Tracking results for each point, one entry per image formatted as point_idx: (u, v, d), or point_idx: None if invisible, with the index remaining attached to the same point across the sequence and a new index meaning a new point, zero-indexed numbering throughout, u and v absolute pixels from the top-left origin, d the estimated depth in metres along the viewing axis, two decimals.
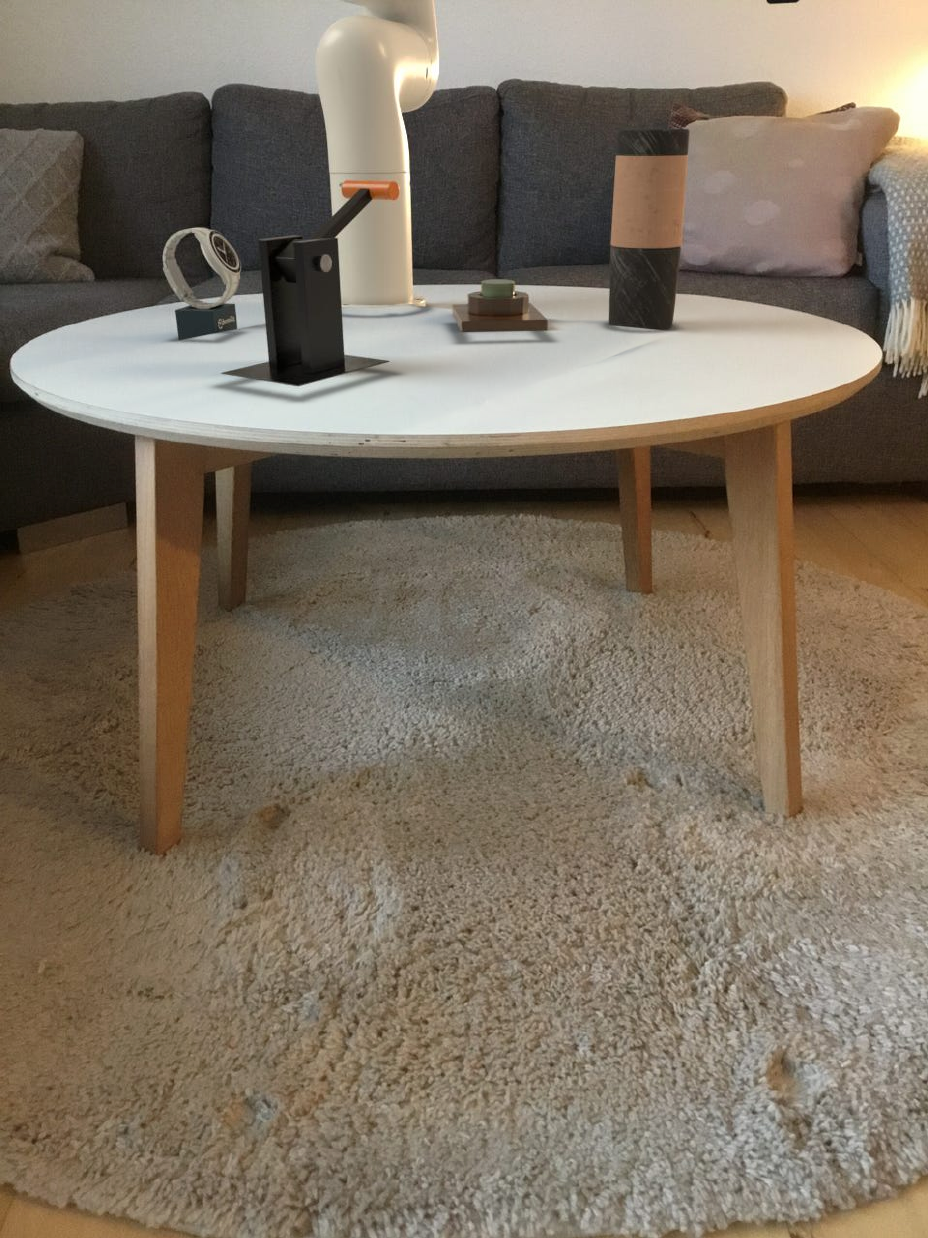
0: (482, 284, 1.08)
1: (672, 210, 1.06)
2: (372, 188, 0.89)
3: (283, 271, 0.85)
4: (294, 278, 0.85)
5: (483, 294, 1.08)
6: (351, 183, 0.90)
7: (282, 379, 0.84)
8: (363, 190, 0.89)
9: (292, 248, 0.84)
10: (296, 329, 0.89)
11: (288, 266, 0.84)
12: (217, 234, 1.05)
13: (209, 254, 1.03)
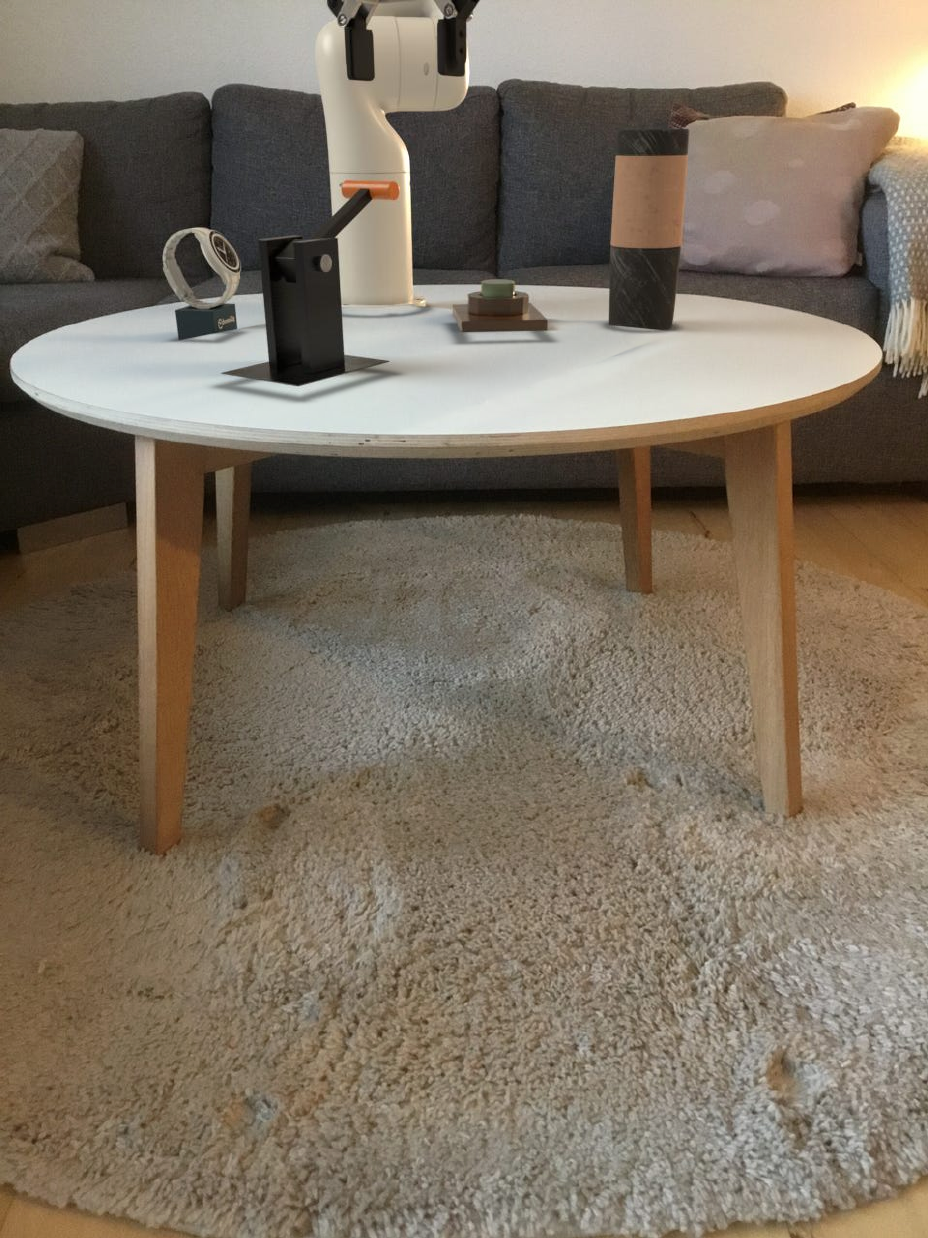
0: (482, 284, 1.08)
1: (671, 210, 1.06)
2: (372, 188, 0.89)
3: (283, 271, 0.85)
4: (294, 278, 0.85)
5: (483, 294, 1.08)
6: (351, 183, 0.90)
7: (282, 379, 0.84)
8: (363, 190, 0.89)
9: (292, 248, 0.84)
10: (296, 329, 0.89)
11: (288, 266, 0.84)
12: (217, 234, 1.05)
13: (209, 254, 1.03)
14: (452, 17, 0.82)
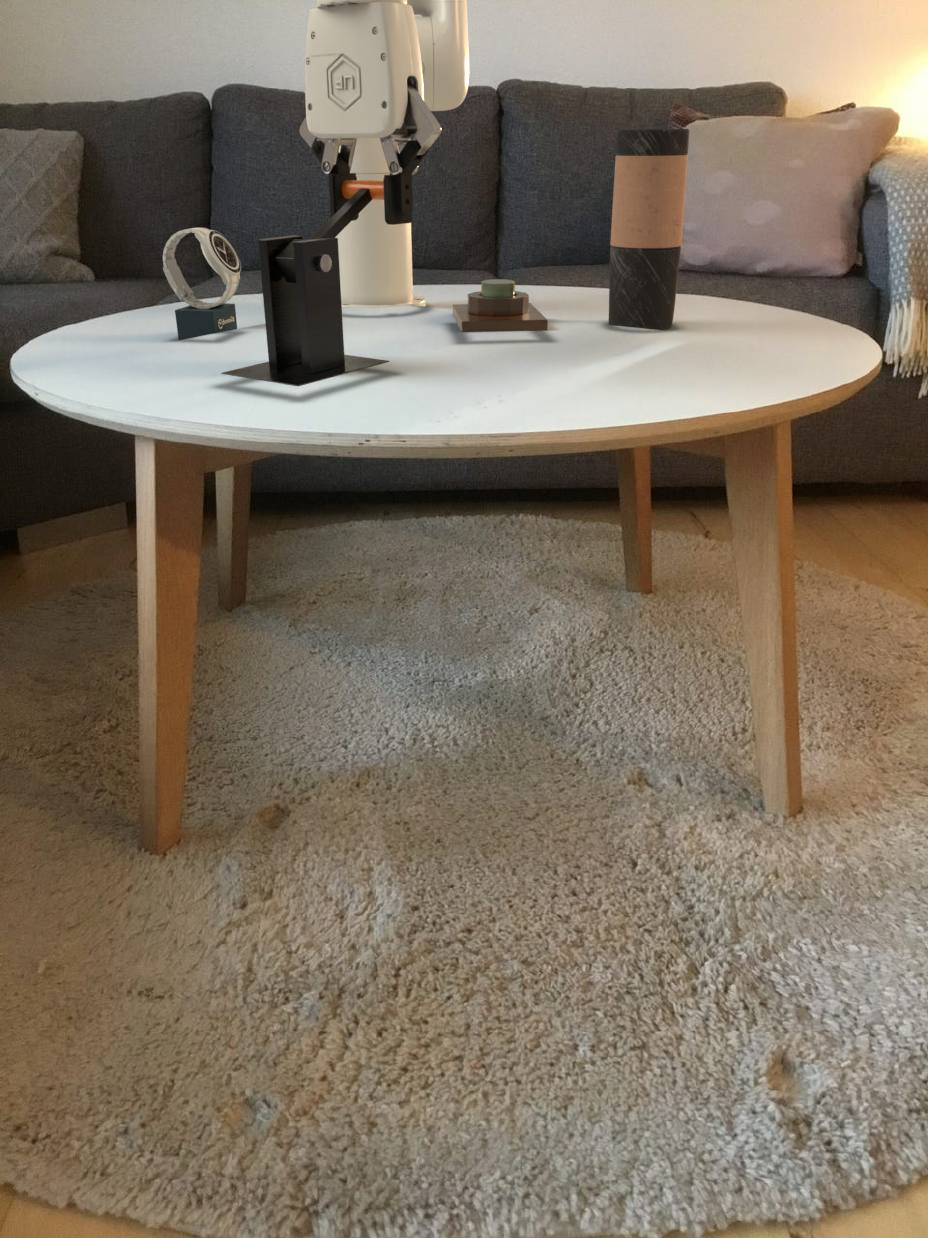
0: (482, 284, 1.08)
1: (671, 210, 1.06)
2: (372, 188, 0.89)
3: (283, 271, 0.85)
4: (294, 278, 0.85)
5: (483, 294, 1.08)
6: (351, 183, 0.90)
7: (282, 379, 0.84)
8: (363, 190, 0.89)
9: (292, 248, 0.84)
10: (296, 329, 0.89)
11: (288, 266, 0.84)
12: (217, 234, 1.05)
13: (209, 254, 1.03)
14: (397, 174, 0.87)
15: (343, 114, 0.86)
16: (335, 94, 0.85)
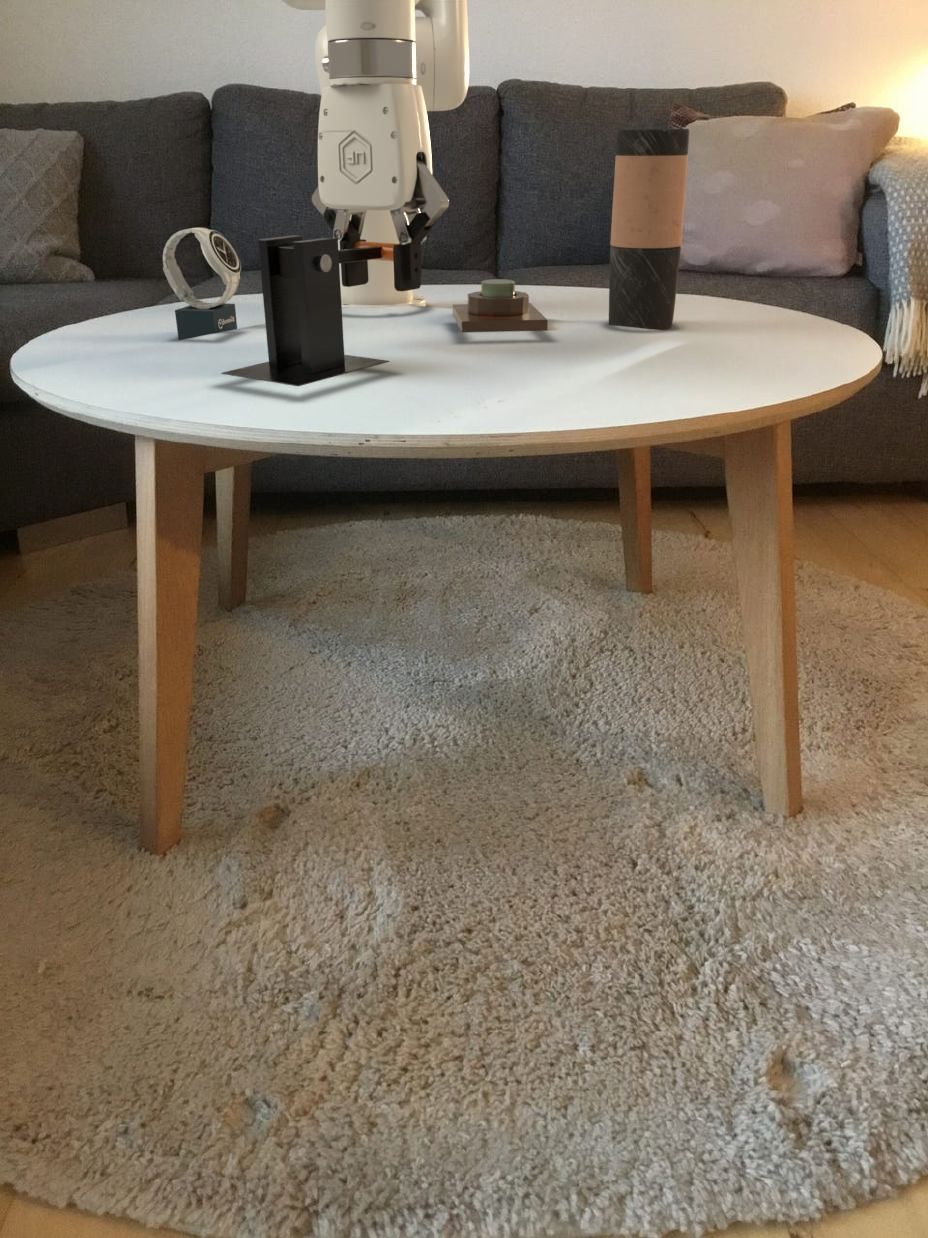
0: (482, 284, 1.08)
1: (671, 210, 1.06)
2: (385, 246, 0.92)
3: (280, 263, 0.85)
4: (289, 271, 0.84)
5: (483, 294, 1.08)
6: (365, 242, 0.94)
7: (282, 379, 0.84)
8: (375, 246, 0.92)
9: None
10: (296, 329, 0.89)
11: (288, 257, 0.84)
12: (217, 234, 1.05)
13: (209, 254, 1.03)
14: (406, 244, 0.90)
15: (354, 187, 0.89)
16: (347, 168, 0.89)
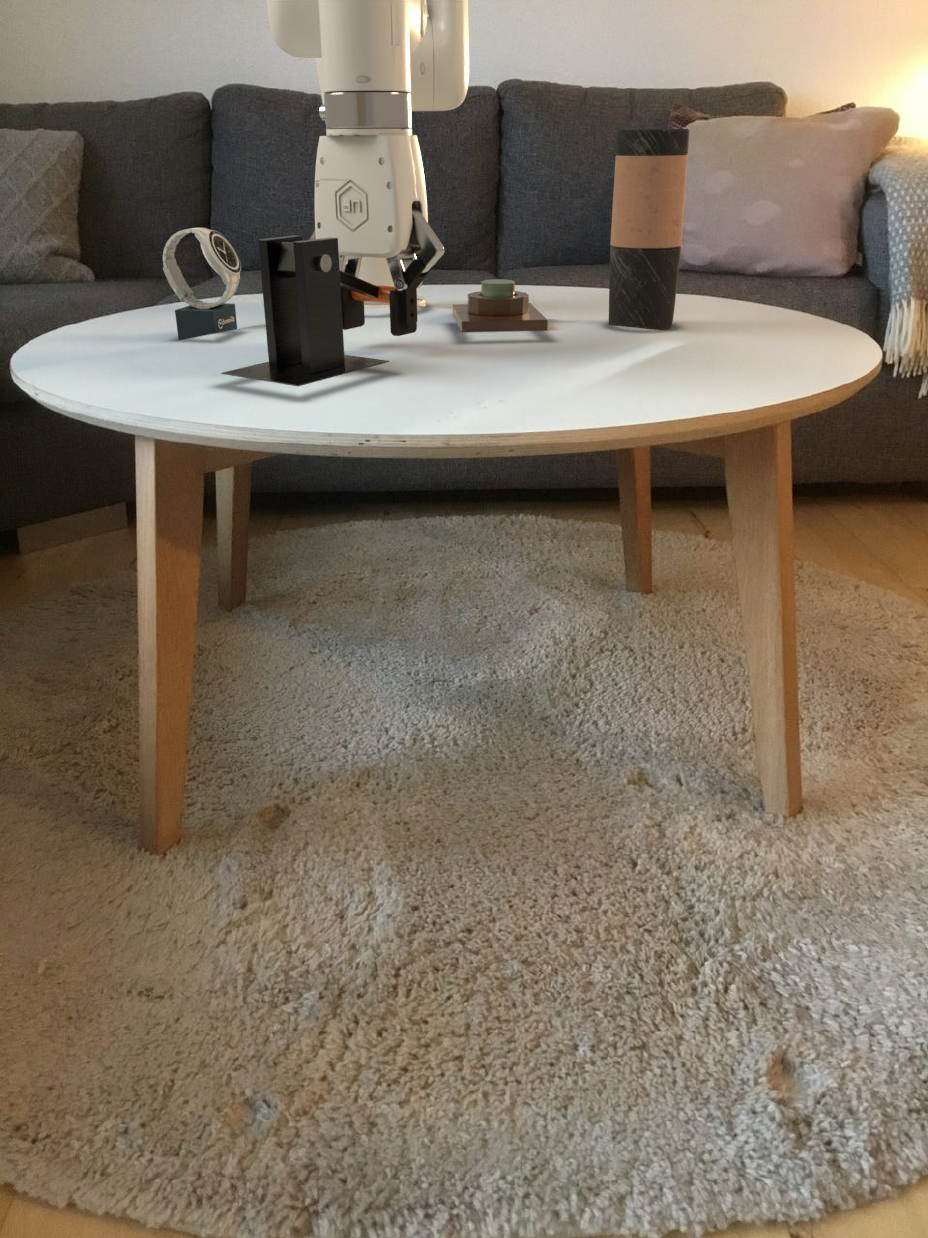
0: (482, 284, 1.08)
1: (671, 210, 1.06)
2: (383, 287, 0.93)
3: (280, 257, 0.84)
4: (287, 265, 0.84)
5: (483, 294, 1.08)
6: None
7: (282, 379, 0.84)
8: None
9: None
10: (296, 329, 0.89)
11: (289, 251, 0.84)
12: (217, 234, 1.05)
13: (209, 254, 1.03)
14: (402, 290, 0.91)
15: (351, 235, 0.90)
16: (343, 216, 0.90)
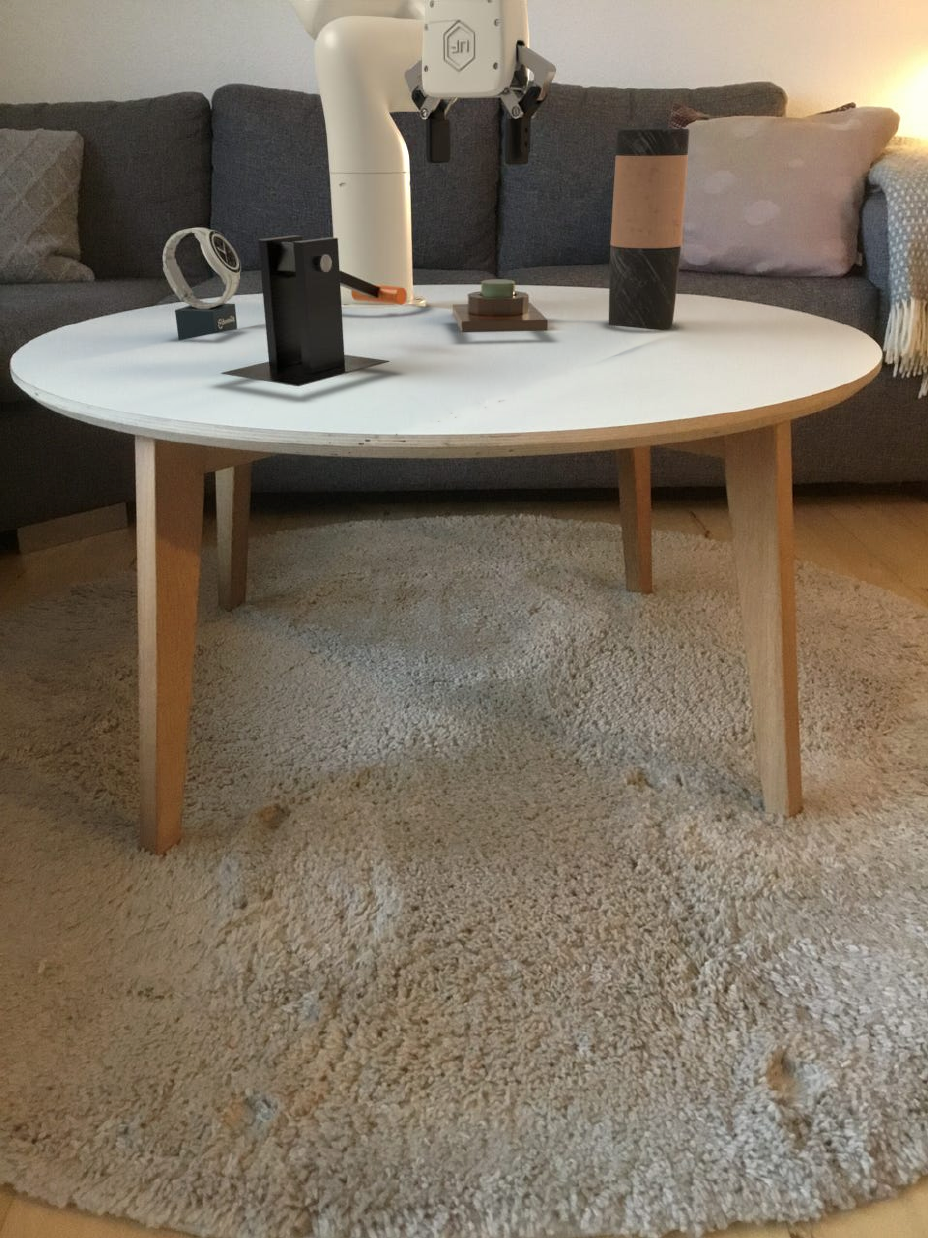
0: (482, 284, 1.08)
1: (671, 210, 1.06)
2: (383, 287, 0.93)
3: (280, 257, 0.84)
4: (287, 265, 0.84)
5: (483, 294, 1.08)
6: None
7: (282, 379, 0.84)
8: None
9: None
10: (296, 329, 0.89)
11: (289, 251, 0.84)
12: (217, 234, 1.05)
13: (209, 254, 1.03)
14: (518, 117, 0.95)
15: (457, 75, 0.96)
16: (450, 57, 0.96)
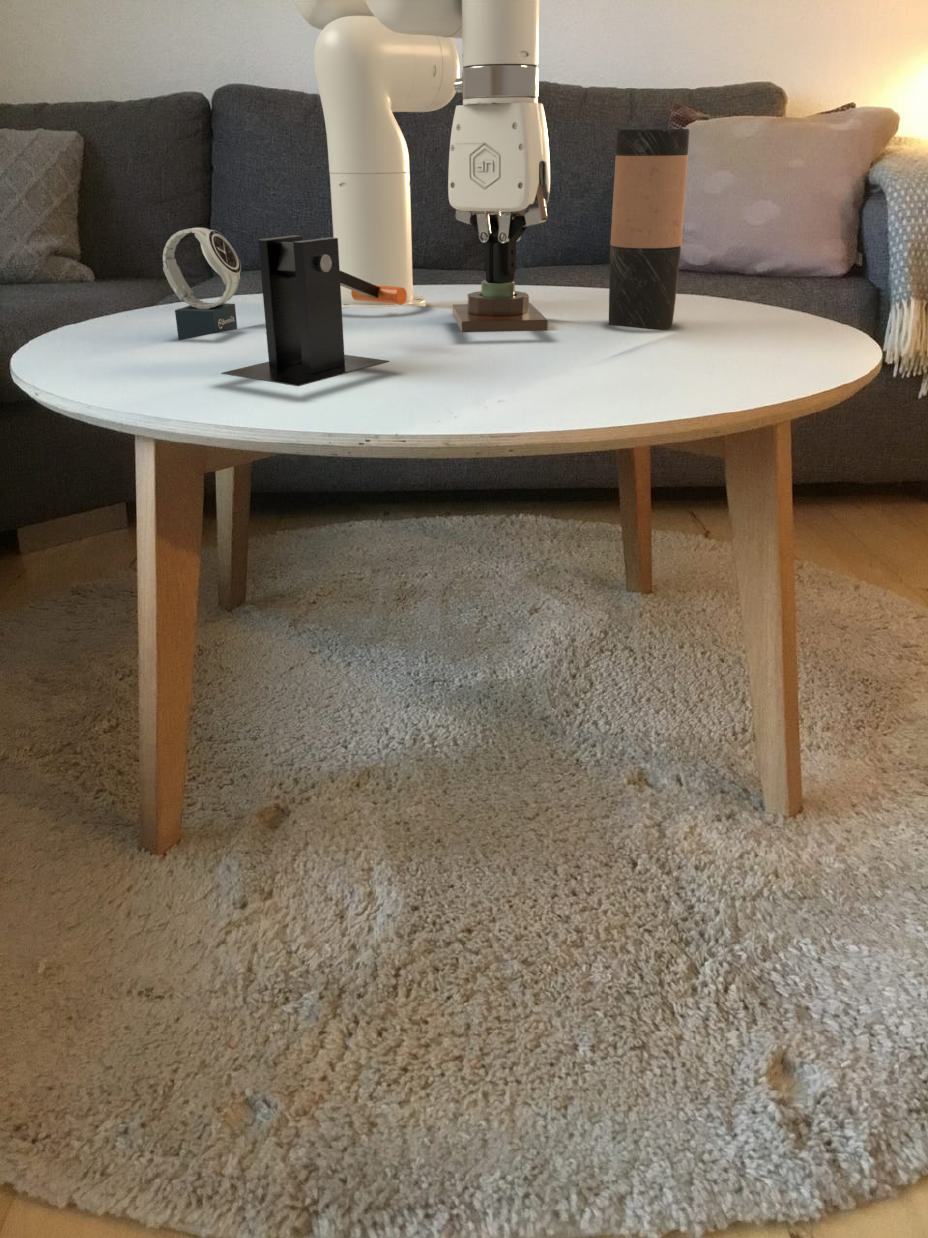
0: (482, 284, 1.08)
1: (671, 210, 1.06)
2: (383, 287, 0.93)
3: (280, 257, 0.84)
4: (287, 265, 0.84)
5: (483, 294, 1.08)
6: None
7: (282, 379, 0.84)
8: None
9: None
10: (296, 329, 0.89)
11: (289, 251, 0.84)
12: (217, 234, 1.05)
13: (209, 254, 1.03)
14: (505, 242, 1.05)
15: (483, 192, 1.03)
16: (476, 175, 1.02)
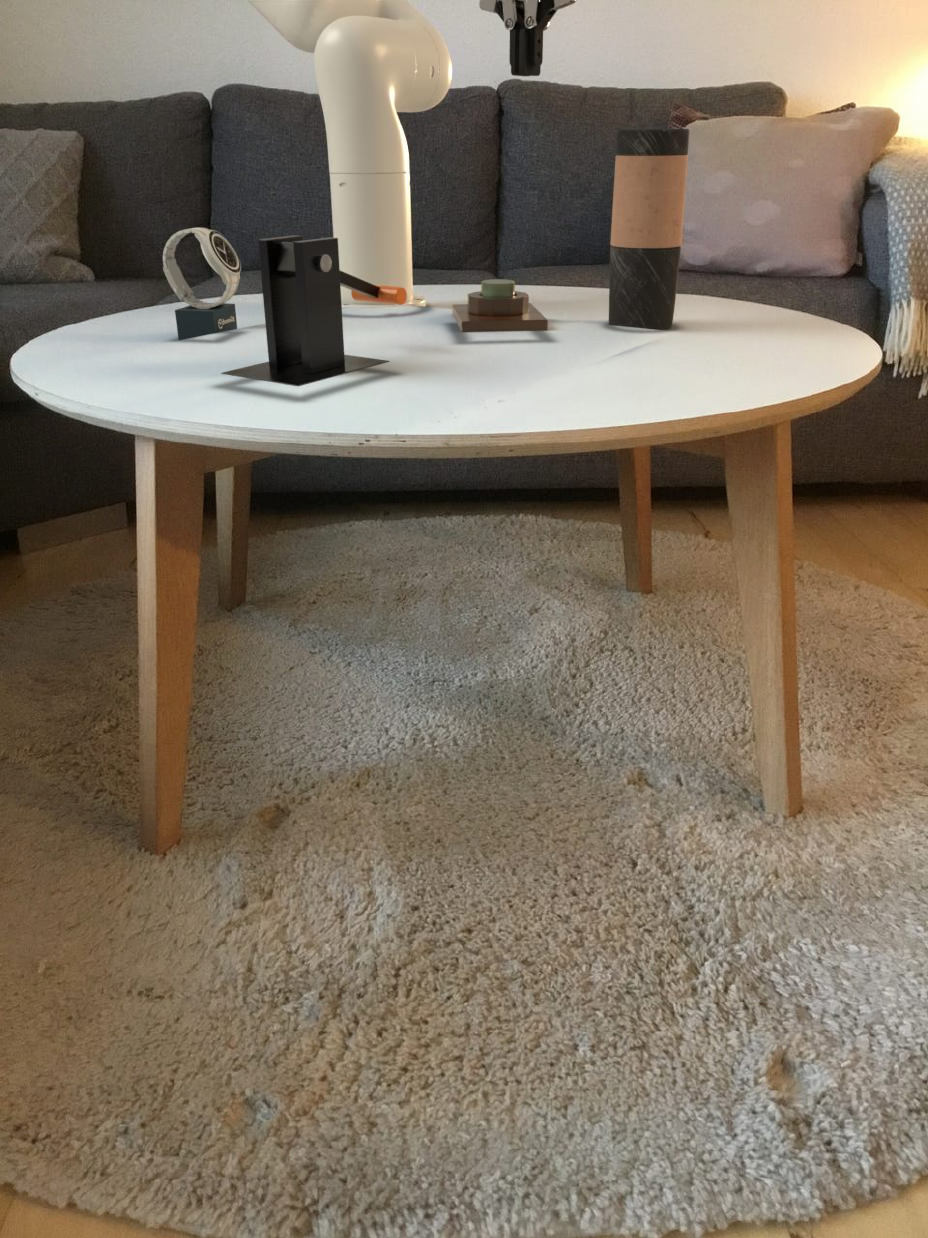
0: (482, 284, 1.08)
1: (671, 210, 1.06)
2: (383, 287, 0.93)
3: (280, 257, 0.84)
4: (287, 265, 0.84)
5: (483, 294, 1.08)
6: None
7: (282, 379, 0.84)
8: None
9: None
10: (296, 329, 0.89)
11: (289, 251, 0.84)
12: (217, 234, 1.05)
13: (209, 254, 1.03)
14: (532, 27, 1.00)
15: None
16: None
